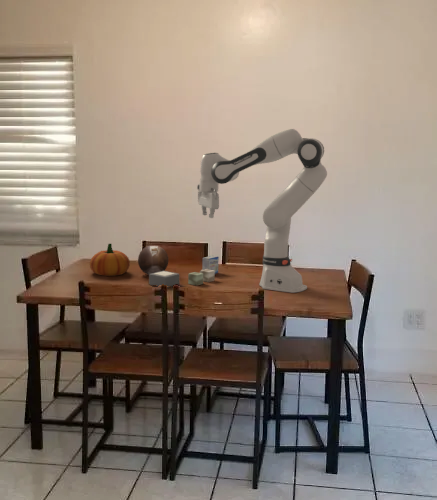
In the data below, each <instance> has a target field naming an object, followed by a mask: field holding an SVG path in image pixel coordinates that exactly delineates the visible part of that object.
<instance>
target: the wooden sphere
mask: <svg viewBox="0 0 437 500" xmlns="http://www.w3.org/2000/svg"><path fill="white" fill-rule="evenodd" d="M168 255H169V254H168V253H167V251H166V250H165V248H163V247H161V246H160V245H157V244H151V245H147V246H145V247H143V248H142V250H141V251H140V252H139V254H138V256H137V257H138V258H137V263H138V264H137V265H138V267H139V268H140V270H141V271H142V272H143V273H145V274H146V275H148V276H149V274H151V273H156V272H160V271H166V269H167V267H168V265H169V256H168Z"/></svg>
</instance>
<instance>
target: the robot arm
mask: <svg viewBox="0 0 437 500" xmlns="http://www.w3.org/2000/svg"><path fill="white" fill-rule="evenodd" d="M324 153H325V147H324V144H323V143H322V142H321V141H320V140H318V139H316V138H307V137H306V138H305V137H304V138H303V137H302V136H301V134H300V132H299V131H298V130H297V129H295V128H290V129H286V130H283V131H281V132H278V133H276V134H273V135H271V136H269V137H268V138H266V139H264V140H263V141H262V142H261V143H260V142H259V144H257V145H256V146H255V147H253V148H252V149H251V150H249V151H247V152H245V153H244V154H241V155H239V156H238V157H235V158H233V159H231V160H229V159H227V158H225V157H223V156H222V155H220V154H219V153H218V152H210V153H205V154H203V155H202V157H201V161H200V171H199V172H200V179H199V183H198V184H197V185H196V189H197V190H198V191H197V202H198V205H200V206H201V210H202V216H207V215H208V218H209V219H214V218H215V217H214V215H215V212H216V210H219V207H220V196H219V193H218V192H219V184H221V185H223V184H227V183H229V182H233V181H234V180H236V179H238V177H239V176H240V175H239V174H240V172H242V171H244V170H246V169H249V168H251V167H252V166H257V165H259V164H260V165H261V164H269V163H273V162H276V161H279V160H282V159H284V158H286V157H288V156H290V155H293V154H297V157H298V159H299V160H300V162H301V164H302V166H303V168H302V169H301V171H300V172H299V173H298V174H297V175H296V176H295V177H294V178H293V179H292V181H290V183H289V184H288V185H287V186H286V187H285V188H284V190H282V191H281V192H280V194H278V195H277V197H275V198H274V199H273V201H271V203H269V205H268V206H266V208H265V209H264V211H263V214H262V220H263V223H264V225H265V226H266V231H265V236H264V241H263V242H264V244H263V245H264V246H263V247H264V248H263V250H264V251H263V255H262V272H261V278H260V280H259V281H260V282H259V286H260V287H261V288H262V290H271V291H277V292H283V293H292V294H293V293H301V292H304V291H306V290H307V289H308V285H305V284H303V276H302V274H301V273H299V271H298V270H296V269H295V268H294V266H292V264H291V262H292V261H293V258H289V256H288V255H289V252H288V251H289V238H290V233H291V232H290V230H291V223H292V217H293V216H294V215H295V214H296V213H297V212H298V211H299V210H300V209H301V208H302V207H303V205H305V204H306V203H307V201H308V200H309V199H310V198H311V197H312V196H313V195H314V194H315V193H316V192H317V190H319V188H320V187H321V186H322V184H323V183H324V181H325V180H326V178H327V176H328V171H327V169H326V167H325V166H324V165H323V164H322V162H321V161H322V158H323V157H324ZM207 208H208V209H209V213H208V211H207Z"/></svg>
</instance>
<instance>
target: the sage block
mask: <svg viewBox="0 0 437 500" xmlns="http://www.w3.org/2000/svg"><path fill="white" fill-rule="evenodd" d="M187 276H188V280H187V281H188V282H187V284H188V285H191V286H200V285H204V281H203V273H200V272H196V271H194V272H189V273H188V275H187Z"/></svg>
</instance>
